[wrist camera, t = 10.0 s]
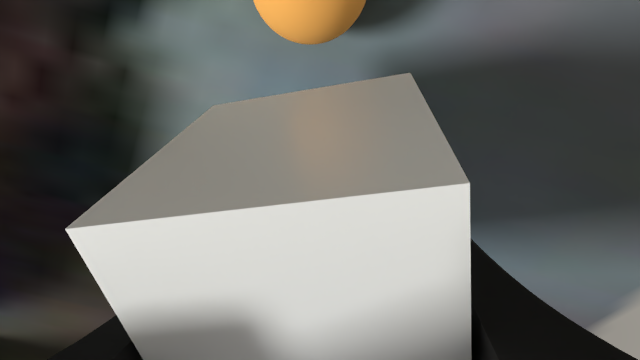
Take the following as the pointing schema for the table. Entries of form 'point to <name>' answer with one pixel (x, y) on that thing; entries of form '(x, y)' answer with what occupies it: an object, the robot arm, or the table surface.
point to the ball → (309, 18)
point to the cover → (293, 233)
